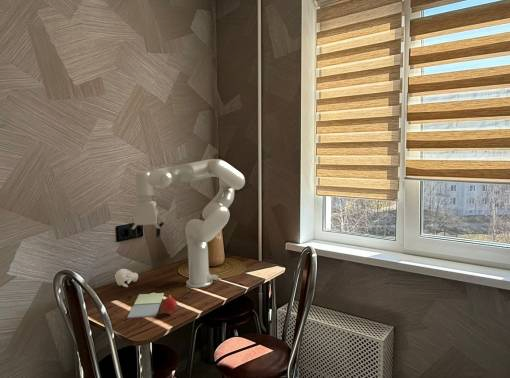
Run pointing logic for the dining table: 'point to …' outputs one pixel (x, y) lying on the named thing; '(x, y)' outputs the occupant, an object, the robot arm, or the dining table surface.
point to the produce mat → (149, 299)
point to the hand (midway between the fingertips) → (147, 237)
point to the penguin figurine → (125, 277)
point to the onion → (169, 305)
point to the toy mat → (144, 311)
